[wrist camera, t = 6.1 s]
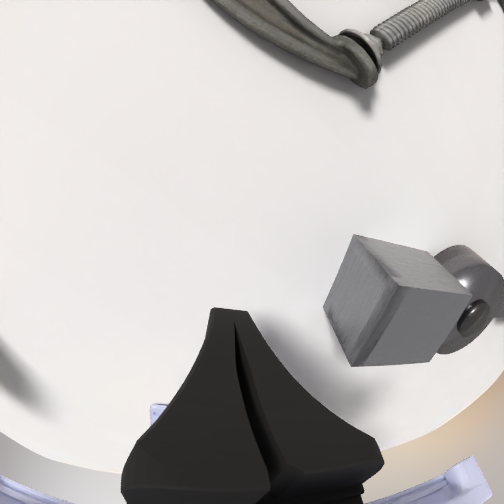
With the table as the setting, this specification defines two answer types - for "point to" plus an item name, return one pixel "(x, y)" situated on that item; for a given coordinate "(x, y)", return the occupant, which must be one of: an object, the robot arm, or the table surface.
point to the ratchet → (480, 286)
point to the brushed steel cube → (392, 303)
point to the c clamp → (340, 46)
